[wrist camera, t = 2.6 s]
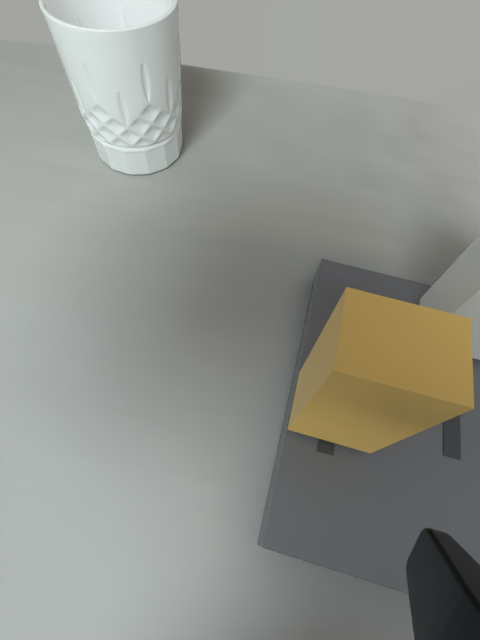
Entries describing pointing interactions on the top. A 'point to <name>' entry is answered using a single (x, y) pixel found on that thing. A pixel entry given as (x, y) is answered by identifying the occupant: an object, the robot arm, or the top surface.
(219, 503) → the top surface
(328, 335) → the amber slider
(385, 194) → the top surface
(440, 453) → the grey slotted board
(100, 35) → the white cup
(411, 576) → the robot arm
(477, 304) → the grey slider
